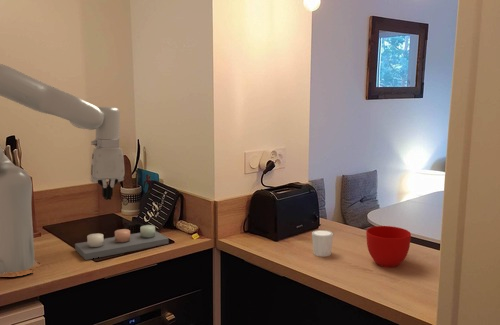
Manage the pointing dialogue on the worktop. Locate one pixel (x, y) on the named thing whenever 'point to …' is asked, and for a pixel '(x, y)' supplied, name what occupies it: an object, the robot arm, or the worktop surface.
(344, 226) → the worktop surface
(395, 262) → the ceramic cup
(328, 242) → the white tapered tub
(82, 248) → the button board
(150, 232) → the sage button
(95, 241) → the cream button
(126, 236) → the terracotta button
